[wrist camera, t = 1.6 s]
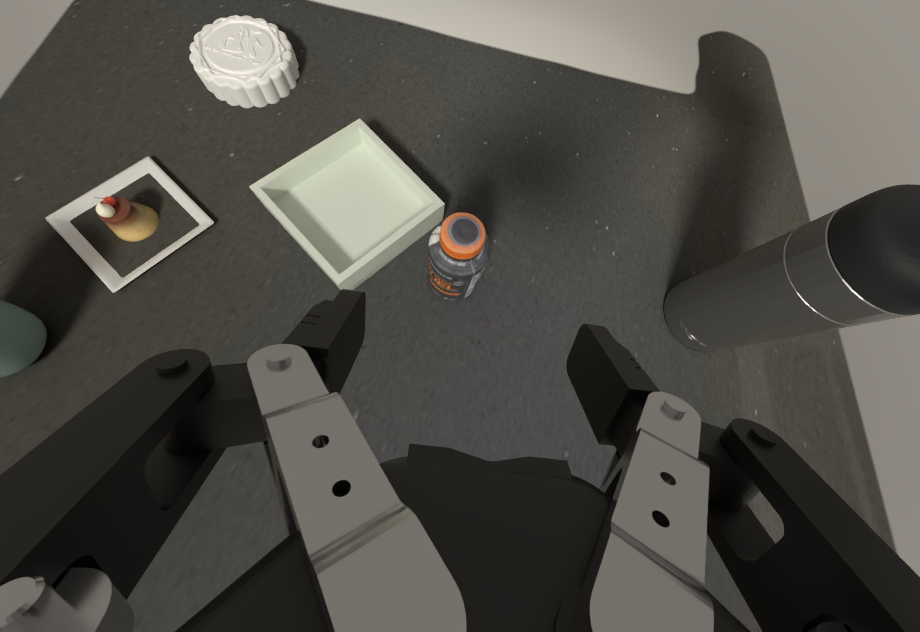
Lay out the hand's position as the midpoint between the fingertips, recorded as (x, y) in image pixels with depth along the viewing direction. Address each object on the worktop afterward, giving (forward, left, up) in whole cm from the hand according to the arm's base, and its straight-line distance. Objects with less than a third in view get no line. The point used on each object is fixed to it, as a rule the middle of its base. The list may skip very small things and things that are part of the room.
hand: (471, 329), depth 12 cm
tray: (-6, -22, -25) cm, 33 cm away
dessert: (+13, -36, -25) cm, 46 cm away
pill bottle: (-9, -8, -25) cm, 27 cm away
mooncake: (-9, -47, -25) cm, 54 cm away
